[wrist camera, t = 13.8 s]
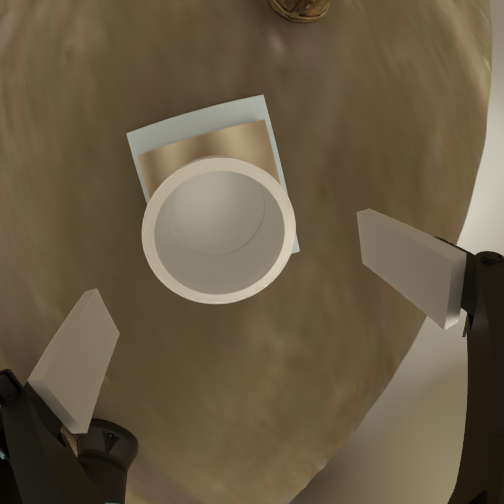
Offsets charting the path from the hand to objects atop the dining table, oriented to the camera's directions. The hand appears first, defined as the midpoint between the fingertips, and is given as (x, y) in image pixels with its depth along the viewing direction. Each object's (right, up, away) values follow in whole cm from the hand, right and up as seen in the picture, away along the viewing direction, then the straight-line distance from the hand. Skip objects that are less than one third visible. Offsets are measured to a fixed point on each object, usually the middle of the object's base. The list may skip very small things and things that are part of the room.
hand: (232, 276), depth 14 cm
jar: (-3, +7, +20) cm, 22 cm away
